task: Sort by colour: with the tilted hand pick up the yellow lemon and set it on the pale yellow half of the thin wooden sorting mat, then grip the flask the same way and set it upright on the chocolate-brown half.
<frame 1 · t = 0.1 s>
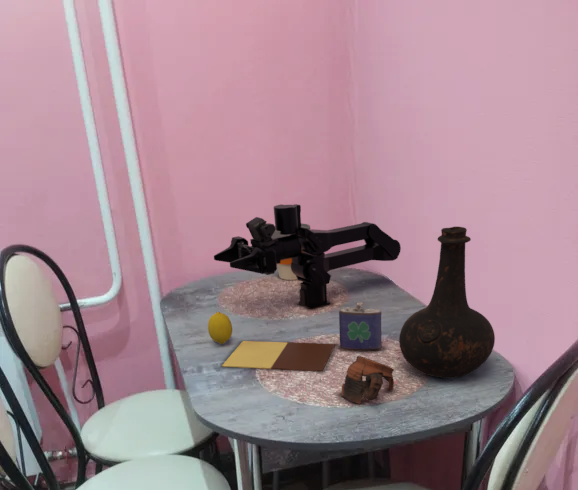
hand: (221, 261, 145), 17 cm above the table, tool horizontal, fingers open, 9 cm apart
flask: (360, 349, 134), on the table
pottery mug: (368, 396, 113), on the table
reusable coffee cup: (293, 276, 190), on the table
glass bottle: (444, 369, 121), on the table
lemon: (222, 345, 142), on the table
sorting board: (279, 355, 133), on the table
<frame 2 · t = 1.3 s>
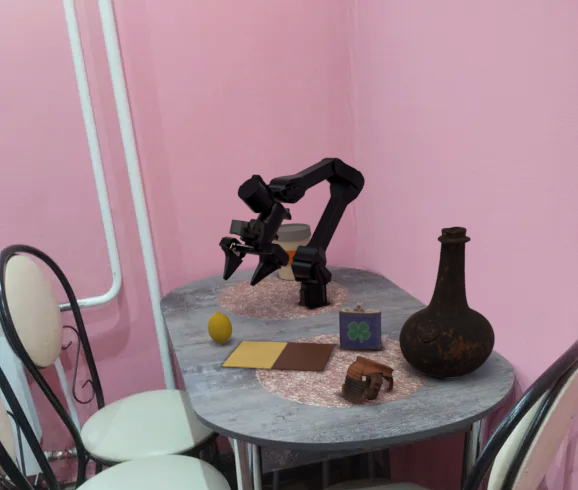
hand: (237, 282, 140), 13 cm above the table, tool tilted 45°, fingers open, 9 cm apart
nothing on the table moved.
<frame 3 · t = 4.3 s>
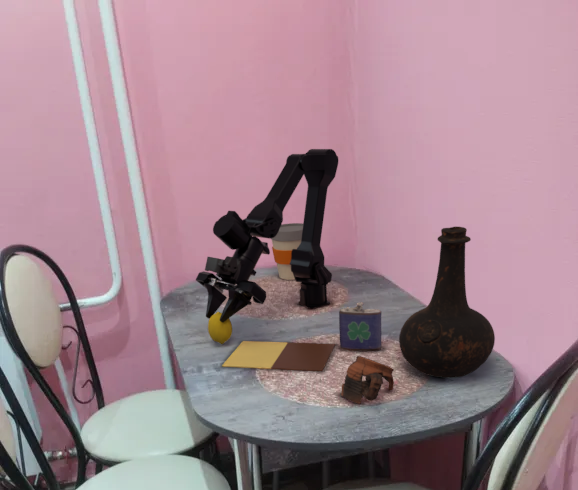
hand: (214, 319, 138), 7 cm above the table, tool tilted 45°, fingers closed on lemon, 4 cm apart
lemon: (222, 345, 142), on the table, touching gripper
everything else where it was.
when the fingers open (7 cm above the table, at t = 9.8 s): lemon stays where it is, resting on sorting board.
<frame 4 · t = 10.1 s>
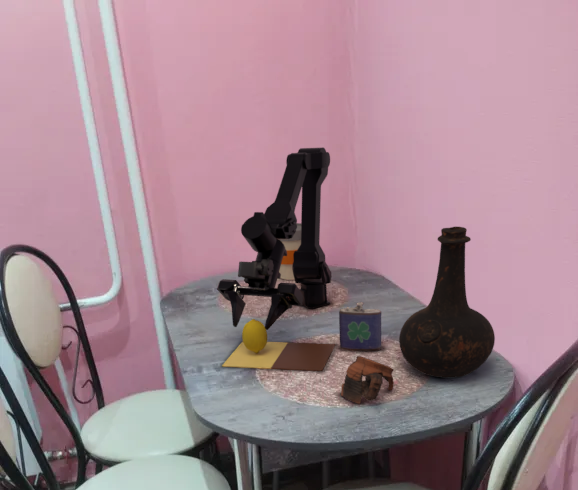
hand: (250, 327, 130), 7 cm above the table, tool tilted 45°, fingers open, 7 cm apart
lemon: (256, 353, 135), resting on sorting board
everything else where it was.
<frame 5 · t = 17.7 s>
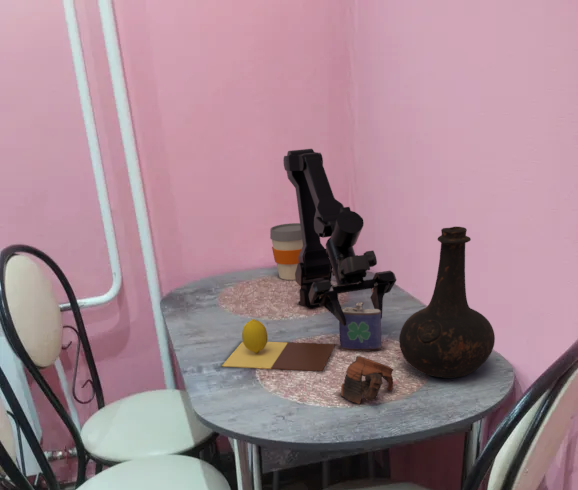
hand: (362, 322, 129), 7 cm above the table, tool tilted 45°, fingers closed on flask, 8 cm apart
flask: (360, 349, 134), on the table, touching gripper
everything else where it was.
when the fingers open (7 cm above the table, at t = 23.9 s): flask stays where it is, resting on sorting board.
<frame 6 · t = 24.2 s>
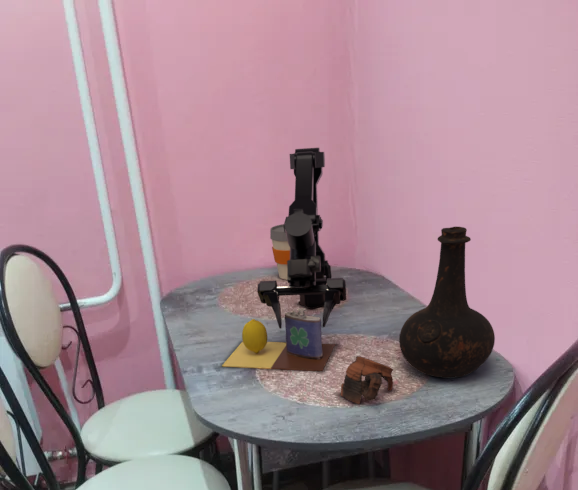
hand: (301, 327, 127), 7 cm above the table, tool tilted 45°, fingers open, 9 cm apart
flask: (303, 355, 132), resting on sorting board
everything else where it was.
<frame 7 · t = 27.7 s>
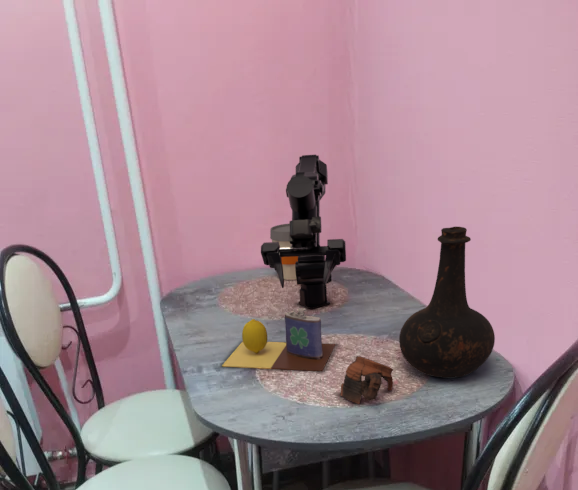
hand: (303, 286, 133), 14 cm above the table, tool tilted 45°, fingers open, 9 cm apart
nothing on the table moved.
at the end: lemon inside the target area on the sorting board (0.2 cm from its centre), point 0.1 cm above the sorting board's base; flask inside the target area on the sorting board (0.3 cm from its centre), point 0.1 cm above the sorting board's base; flask tilted 0° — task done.
